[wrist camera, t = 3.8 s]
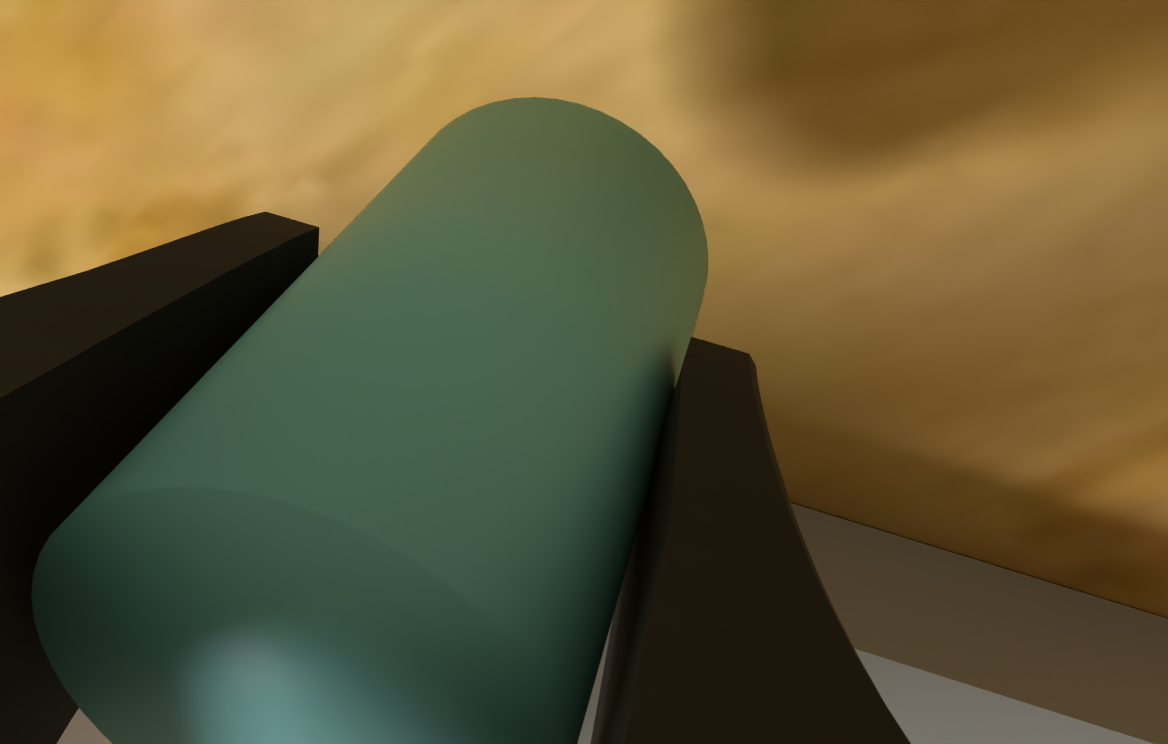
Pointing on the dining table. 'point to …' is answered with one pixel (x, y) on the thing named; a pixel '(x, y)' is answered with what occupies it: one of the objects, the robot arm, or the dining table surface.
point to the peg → (402, 464)
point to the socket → (983, 645)
